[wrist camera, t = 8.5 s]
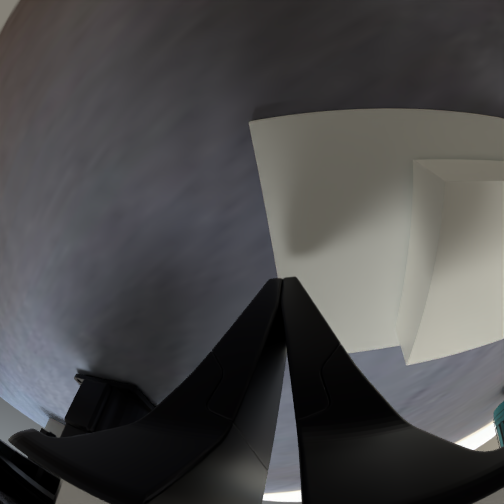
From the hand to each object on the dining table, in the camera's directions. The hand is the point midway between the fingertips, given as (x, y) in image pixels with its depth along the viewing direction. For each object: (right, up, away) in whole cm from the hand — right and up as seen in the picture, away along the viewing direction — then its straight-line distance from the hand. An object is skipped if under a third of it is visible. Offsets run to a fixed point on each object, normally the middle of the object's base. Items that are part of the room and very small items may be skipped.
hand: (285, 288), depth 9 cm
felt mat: (+7, +1, 0) cm, 7 cm away
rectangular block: (+4, 0, -1) cm, 4 cm away
